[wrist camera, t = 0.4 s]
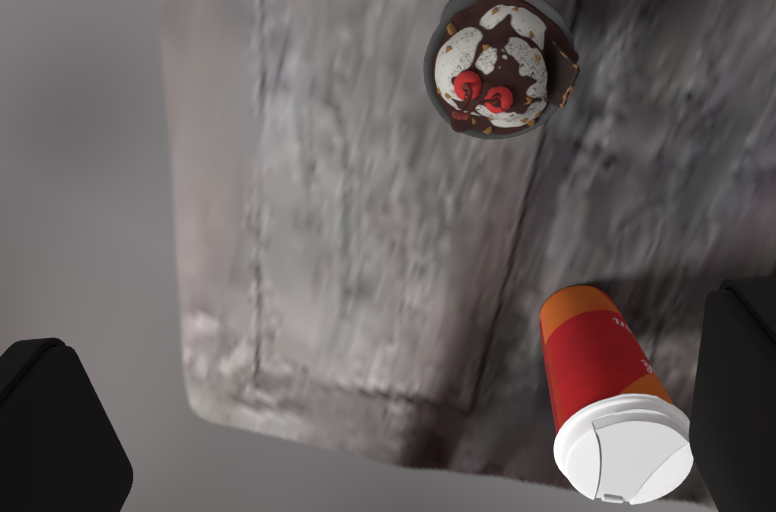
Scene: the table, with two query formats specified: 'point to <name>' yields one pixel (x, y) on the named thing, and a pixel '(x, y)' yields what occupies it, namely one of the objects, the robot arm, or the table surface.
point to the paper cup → (609, 403)
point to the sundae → (499, 66)
